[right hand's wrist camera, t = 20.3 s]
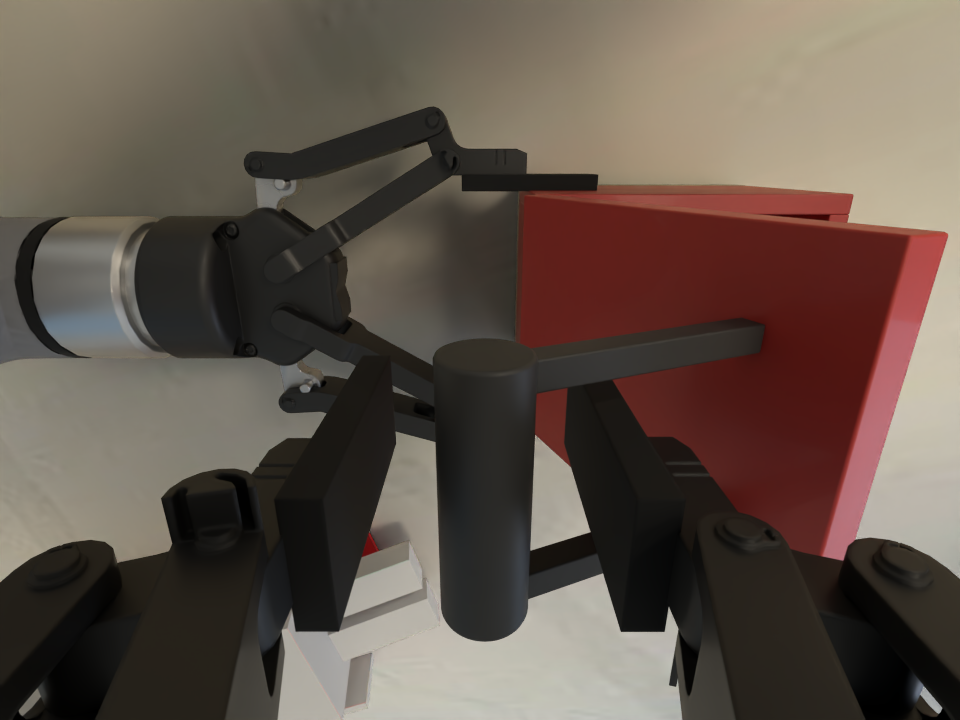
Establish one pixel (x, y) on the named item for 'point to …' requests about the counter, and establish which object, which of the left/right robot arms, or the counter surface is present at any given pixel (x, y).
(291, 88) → the counter surface
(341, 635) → the toy
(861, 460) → the lid
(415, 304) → the counter surface
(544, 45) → the counter surface
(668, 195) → the chest
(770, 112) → the counter surface
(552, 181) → the left robot arm
